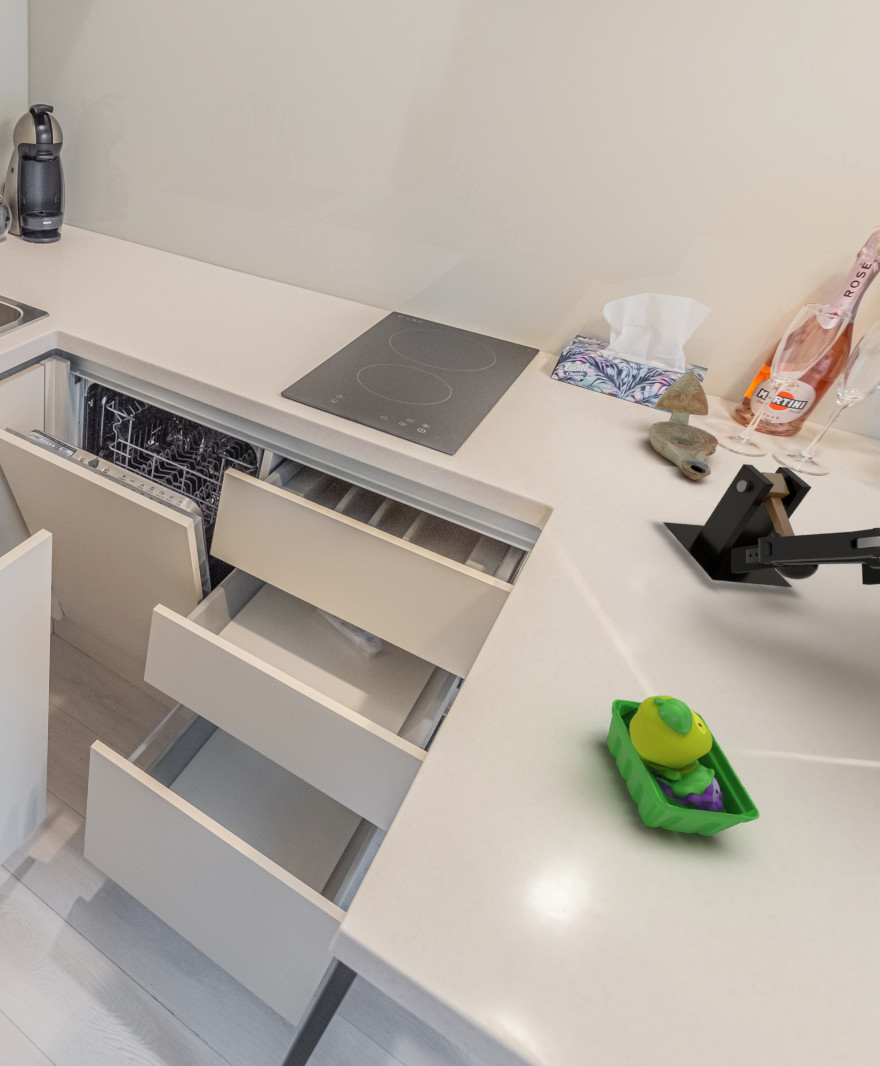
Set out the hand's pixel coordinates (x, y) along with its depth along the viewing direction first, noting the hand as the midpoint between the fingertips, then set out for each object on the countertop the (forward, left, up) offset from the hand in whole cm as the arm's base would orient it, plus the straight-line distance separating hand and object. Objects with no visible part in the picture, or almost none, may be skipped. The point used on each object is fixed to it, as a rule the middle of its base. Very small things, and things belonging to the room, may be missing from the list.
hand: (799, 566), depth 84 cm
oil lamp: (+7, -37, -7) cm, 38 cm away
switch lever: (+2, -5, 0) cm, 6 cm away
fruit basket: (+14, +35, -7) cm, 38 cm away
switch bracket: (+4, -9, -7) cm, 12 cm away
